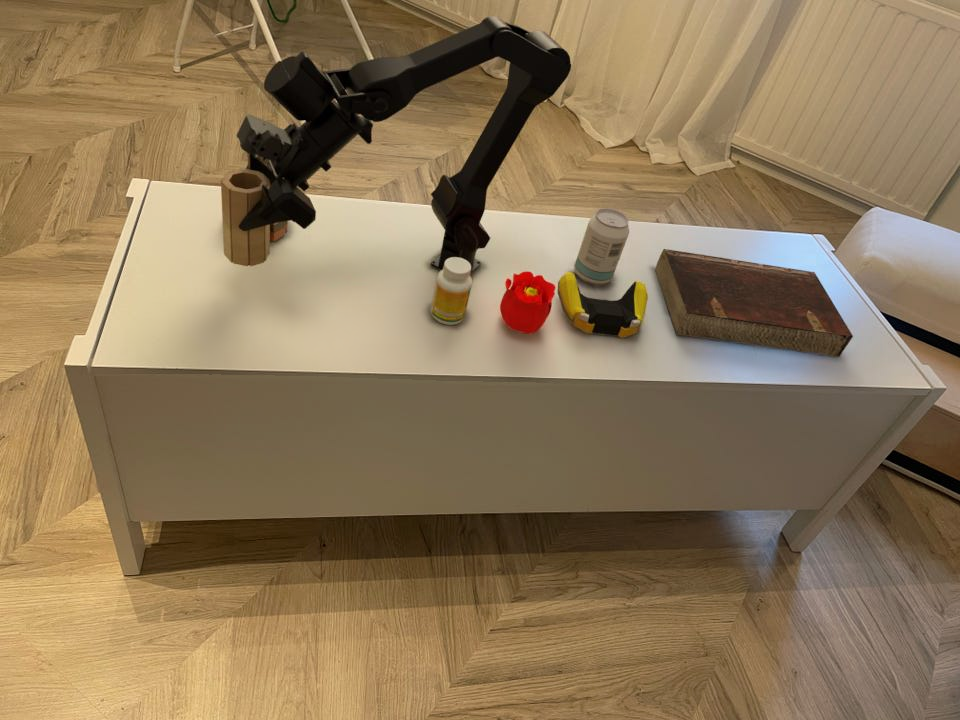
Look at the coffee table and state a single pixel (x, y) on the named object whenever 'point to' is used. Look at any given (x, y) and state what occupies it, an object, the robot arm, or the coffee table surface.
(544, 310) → the flower
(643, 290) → the gaming controller
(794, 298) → the book
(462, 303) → the supplement bottle
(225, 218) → the tall ring
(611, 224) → the beverage can
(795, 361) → the coffee table surface
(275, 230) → the ring stack
